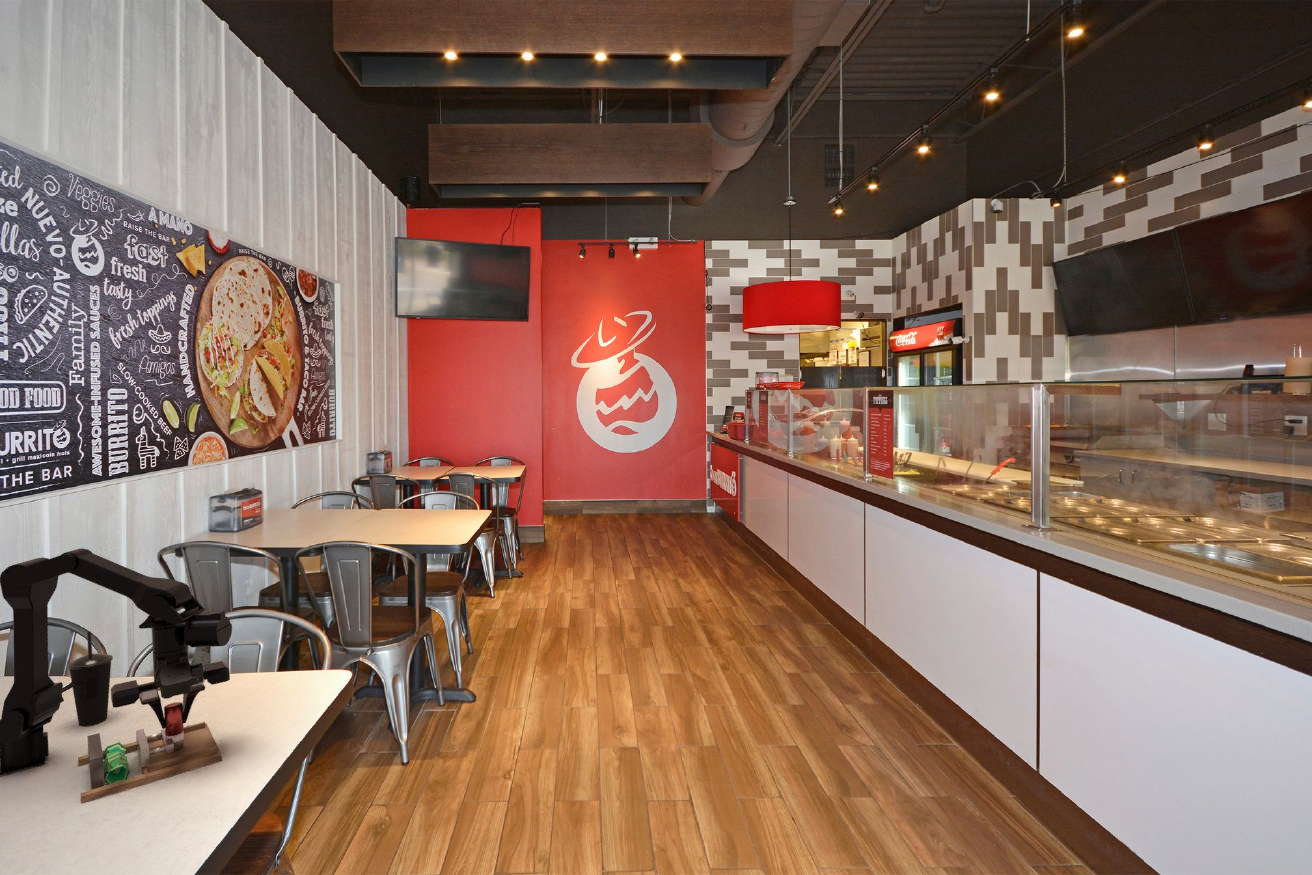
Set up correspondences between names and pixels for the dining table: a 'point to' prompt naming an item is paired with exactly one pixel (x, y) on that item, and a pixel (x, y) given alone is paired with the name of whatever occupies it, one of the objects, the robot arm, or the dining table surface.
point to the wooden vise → (152, 761)
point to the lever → (163, 734)
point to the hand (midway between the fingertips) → (174, 725)
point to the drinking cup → (91, 686)
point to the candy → (115, 763)
